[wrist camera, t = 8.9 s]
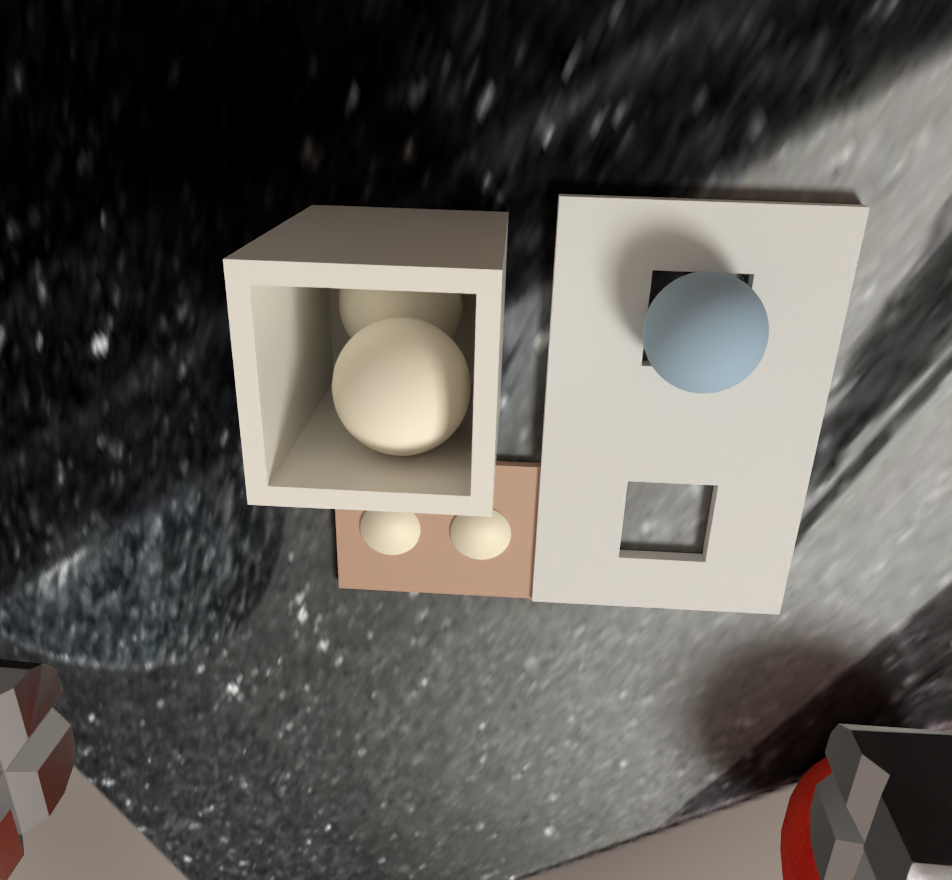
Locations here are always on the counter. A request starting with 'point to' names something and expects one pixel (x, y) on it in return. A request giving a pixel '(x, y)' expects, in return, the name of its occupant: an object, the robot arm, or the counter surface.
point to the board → (685, 397)
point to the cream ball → (401, 386)
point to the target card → (447, 544)
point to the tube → (324, 336)
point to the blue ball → (705, 332)
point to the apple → (801, 826)
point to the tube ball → (399, 308)
